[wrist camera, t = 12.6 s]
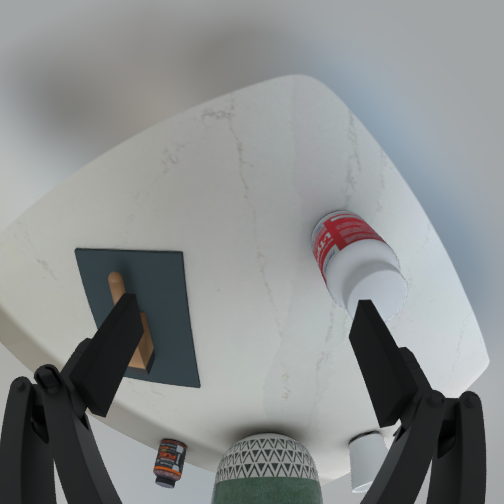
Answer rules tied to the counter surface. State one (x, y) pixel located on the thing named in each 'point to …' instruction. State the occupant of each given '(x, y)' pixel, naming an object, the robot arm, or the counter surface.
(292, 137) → the counter surface
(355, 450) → the cup
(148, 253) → the mat
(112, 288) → the scrub brush
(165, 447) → the supplement bottle
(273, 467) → the planter
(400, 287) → the pill bottle
